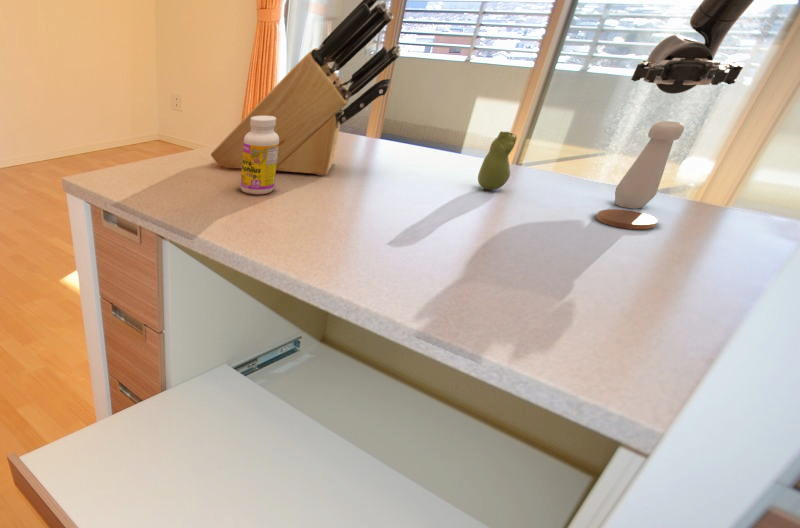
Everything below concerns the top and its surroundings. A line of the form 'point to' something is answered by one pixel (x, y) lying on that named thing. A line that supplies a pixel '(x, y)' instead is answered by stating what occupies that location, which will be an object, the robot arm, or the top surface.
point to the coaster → (626, 219)
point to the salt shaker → (648, 166)
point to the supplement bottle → (260, 156)
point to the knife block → (318, 96)
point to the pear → (497, 162)
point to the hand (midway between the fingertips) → (686, 76)
